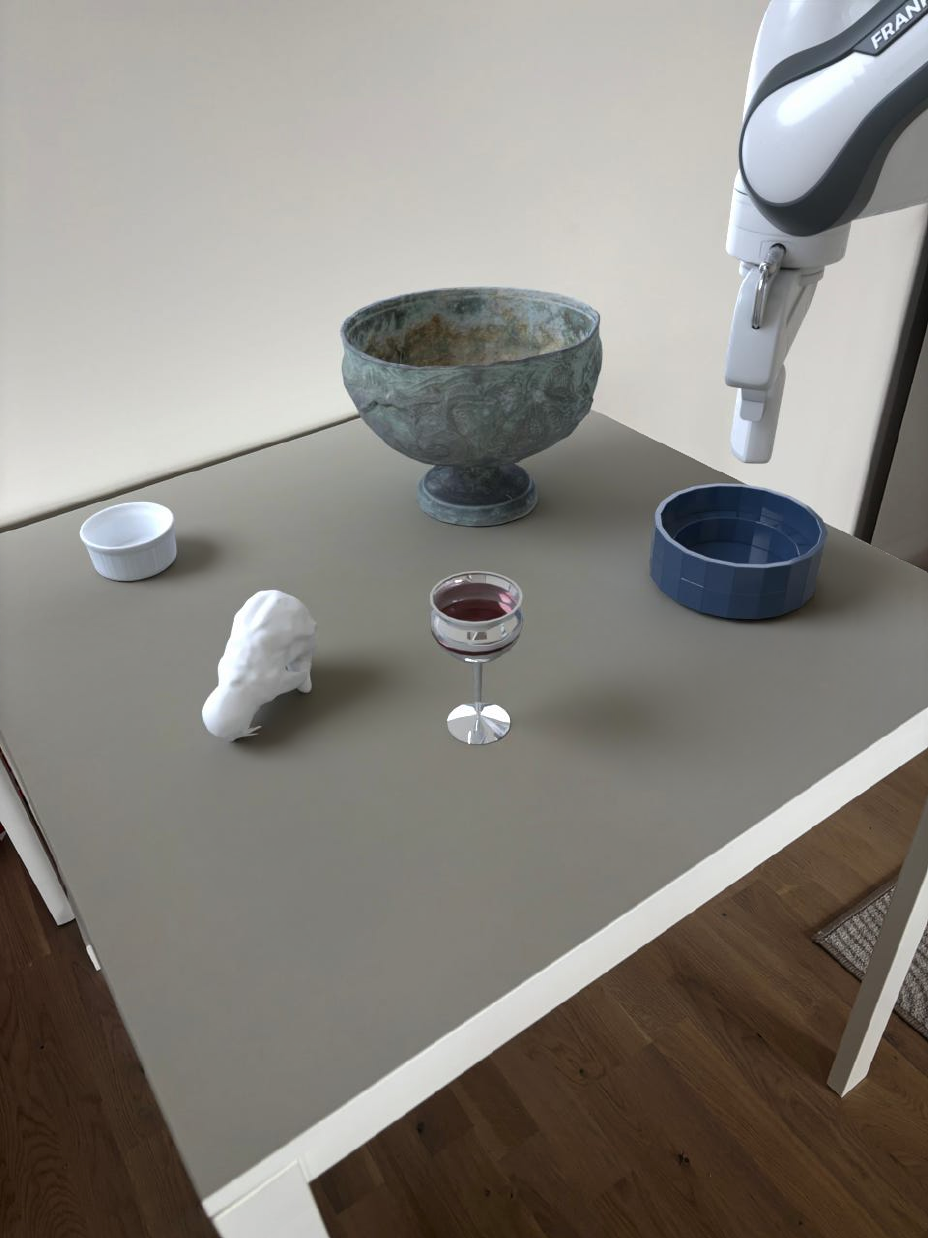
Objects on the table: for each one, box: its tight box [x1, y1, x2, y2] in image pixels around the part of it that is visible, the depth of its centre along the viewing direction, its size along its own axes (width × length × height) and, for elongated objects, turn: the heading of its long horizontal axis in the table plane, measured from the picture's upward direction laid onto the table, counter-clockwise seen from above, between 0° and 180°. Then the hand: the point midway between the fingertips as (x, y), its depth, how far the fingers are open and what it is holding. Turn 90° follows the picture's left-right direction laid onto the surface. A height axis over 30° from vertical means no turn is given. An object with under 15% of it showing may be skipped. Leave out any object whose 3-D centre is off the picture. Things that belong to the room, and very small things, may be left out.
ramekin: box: [79, 501, 178, 582], centre depth 96 cm, size 9×9×4 cm
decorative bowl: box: [339, 285, 604, 527], centre depth 100 cm, size 26×26×20 cm
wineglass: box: [429, 570, 524, 745], centre depth 73 cm, size 7×7×12 cm
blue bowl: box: [648, 482, 828, 620], centre depth 90 cm, size 15×15×6 cm
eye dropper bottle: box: [729, 327, 787, 465], centre depth 81 cm, size 4×6×12 cm
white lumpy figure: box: [201, 589, 319, 742], centre depth 76 cm, size 6×8×12 cm
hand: (759, 401), depth 82 cm, fingers closed on eye dropper bottle, 5 cm apart
